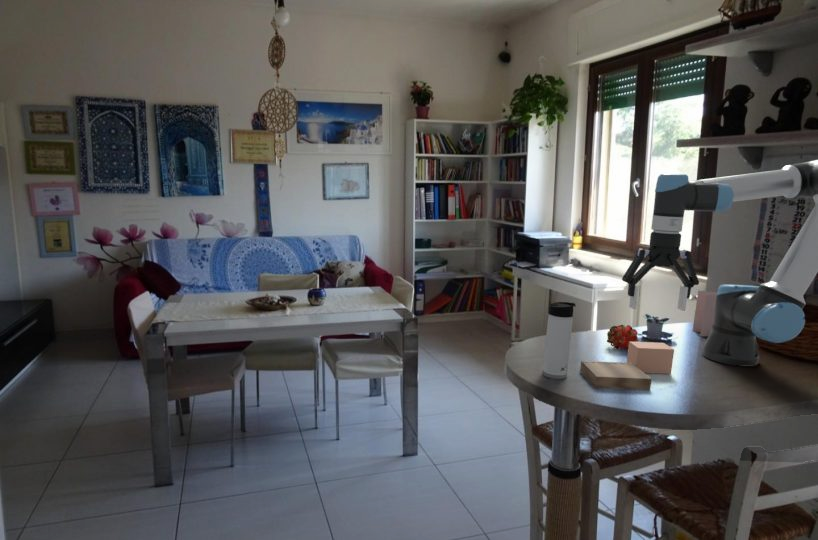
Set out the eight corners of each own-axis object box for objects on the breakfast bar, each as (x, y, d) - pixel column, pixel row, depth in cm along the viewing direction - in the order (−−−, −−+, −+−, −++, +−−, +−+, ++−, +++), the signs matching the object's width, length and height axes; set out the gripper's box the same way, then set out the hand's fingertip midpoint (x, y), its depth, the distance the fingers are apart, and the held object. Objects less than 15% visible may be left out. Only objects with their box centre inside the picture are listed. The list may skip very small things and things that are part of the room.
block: (660, 366, 160) (663, 342, 158) (670, 373, 154) (674, 349, 152) (626, 365, 159) (629, 341, 158) (635, 372, 153) (638, 348, 152)
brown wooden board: (630, 373, 153) (631, 362, 152) (650, 390, 141) (651, 378, 141) (580, 371, 153) (581, 360, 152) (595, 387, 141) (596, 376, 140)
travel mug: (569, 381, 145) (576, 306, 141) (543, 378, 146) (550, 303, 143) (567, 372, 151) (574, 300, 147) (542, 370, 152) (549, 298, 149)
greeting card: (728, 335, 198) (734, 294, 195) (730, 340, 191) (737, 298, 189) (692, 330, 202) (698, 290, 200) (693, 335, 196) (699, 293, 193)
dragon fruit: (603, 354, 174) (630, 356, 179) (624, 345, 167) (651, 347, 173) (596, 329, 177) (623, 331, 183) (616, 319, 171) (643, 322, 176)
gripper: (626, 231, 146) (617, 310, 149) (719, 235, 146) (709, 313, 150) (614, 228, 153) (607, 304, 157) (704, 232, 154) (694, 306, 158)
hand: (657, 308), depth 153 cm, fingers open, 13 cm apart
